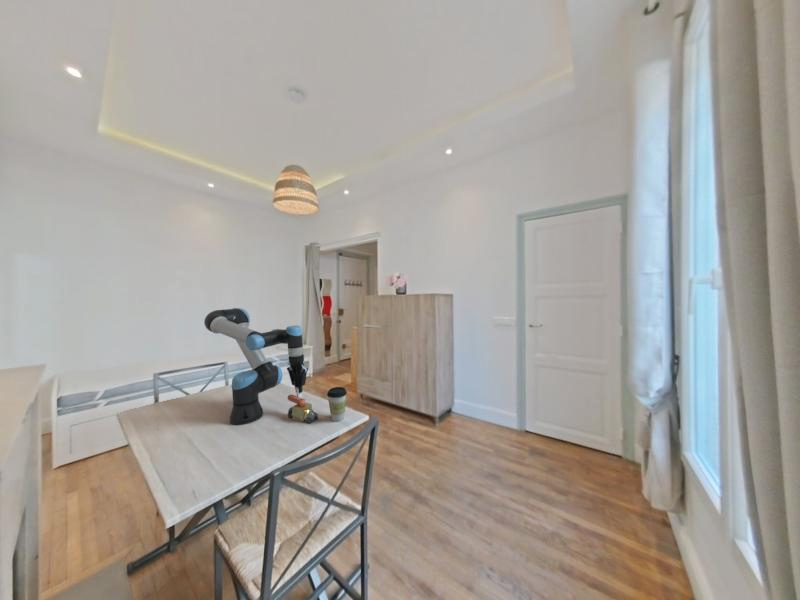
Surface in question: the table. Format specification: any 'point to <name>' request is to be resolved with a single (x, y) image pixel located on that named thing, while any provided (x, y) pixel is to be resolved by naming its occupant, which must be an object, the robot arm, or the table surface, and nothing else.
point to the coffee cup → (337, 403)
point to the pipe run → (303, 413)
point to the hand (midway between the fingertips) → (299, 398)
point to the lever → (296, 400)
